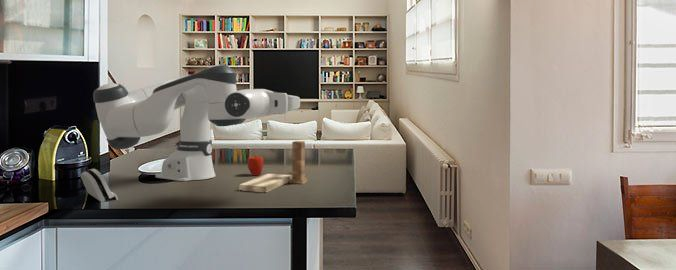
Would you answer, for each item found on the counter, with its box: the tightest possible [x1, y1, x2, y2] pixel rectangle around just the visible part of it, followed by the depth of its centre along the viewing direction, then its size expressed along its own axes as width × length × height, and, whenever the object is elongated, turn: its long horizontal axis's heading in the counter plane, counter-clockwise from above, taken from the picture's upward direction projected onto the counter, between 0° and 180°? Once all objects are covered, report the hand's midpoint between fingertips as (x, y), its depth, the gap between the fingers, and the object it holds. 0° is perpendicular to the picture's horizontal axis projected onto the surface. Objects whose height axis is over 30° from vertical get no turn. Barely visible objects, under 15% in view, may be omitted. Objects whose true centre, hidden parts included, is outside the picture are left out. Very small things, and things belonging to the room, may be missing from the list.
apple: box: [247, 155, 264, 176], centre depth 201 cm, size 6×6×8 cm
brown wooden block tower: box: [286, 140, 308, 185], centre depth 187 cm, size 7×5×15 cm
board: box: [238, 173, 292, 193], centre depth 181 cm, size 10×22×2 cm, turn 163°
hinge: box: [79, 168, 119, 203], centre depth 161 cm, size 17×5×10 cm, turn 39°
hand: (278, 101), depth 173 cm, fingers open, 8 cm apart
